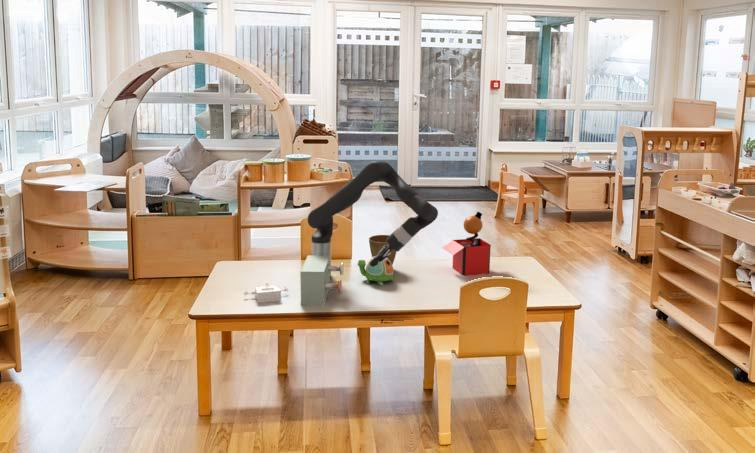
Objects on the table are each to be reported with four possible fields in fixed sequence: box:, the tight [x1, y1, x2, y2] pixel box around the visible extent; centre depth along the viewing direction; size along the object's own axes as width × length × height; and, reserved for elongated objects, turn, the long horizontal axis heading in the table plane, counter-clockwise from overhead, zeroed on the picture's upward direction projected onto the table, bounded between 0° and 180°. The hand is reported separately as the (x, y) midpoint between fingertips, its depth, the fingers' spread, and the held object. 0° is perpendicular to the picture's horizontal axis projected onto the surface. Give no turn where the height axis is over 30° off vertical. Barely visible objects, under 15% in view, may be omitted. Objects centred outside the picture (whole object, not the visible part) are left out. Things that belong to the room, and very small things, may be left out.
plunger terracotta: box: [325, 279, 343, 294], centre depth 334 cm, size 13×6×6 cm, turn 88°
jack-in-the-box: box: [442, 211, 493, 277], centre depth 379 cm, size 26×16×30 cm, turn 106°
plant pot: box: [368, 234, 398, 266], centre depth 381 cm, size 15×15×16 cm
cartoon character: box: [243, 282, 288, 303], centre depth 340 cm, size 8×20×16 cm
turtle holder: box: [356, 256, 394, 286], centre depth 363 cm, size 12×18×12 cm
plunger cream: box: [328, 261, 345, 276], centre depth 345 cm, size 13×6×6 cm, turn 88°
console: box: [300, 254, 331, 306], centre depth 340 cm, size 10×26×15 cm, turn 178°
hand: (370, 265), depth 331 cm, fingers closed
